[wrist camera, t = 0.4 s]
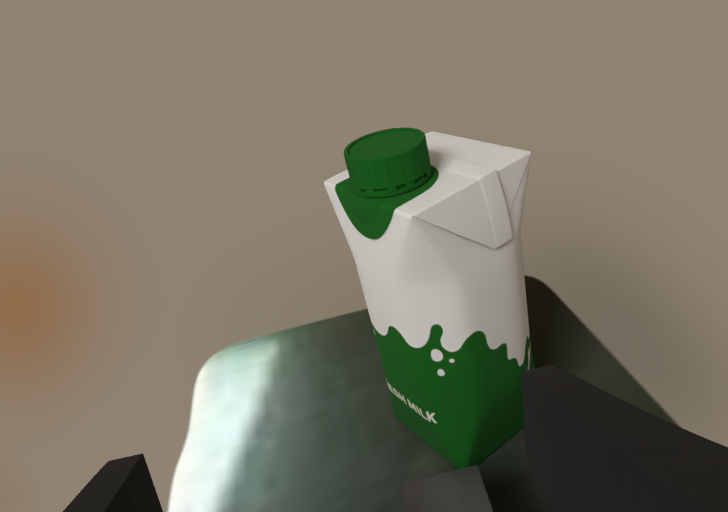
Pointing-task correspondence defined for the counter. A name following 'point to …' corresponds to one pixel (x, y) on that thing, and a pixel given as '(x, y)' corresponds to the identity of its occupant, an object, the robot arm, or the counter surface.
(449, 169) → the milk carton
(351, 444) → the counter surface
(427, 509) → the cooker pot
